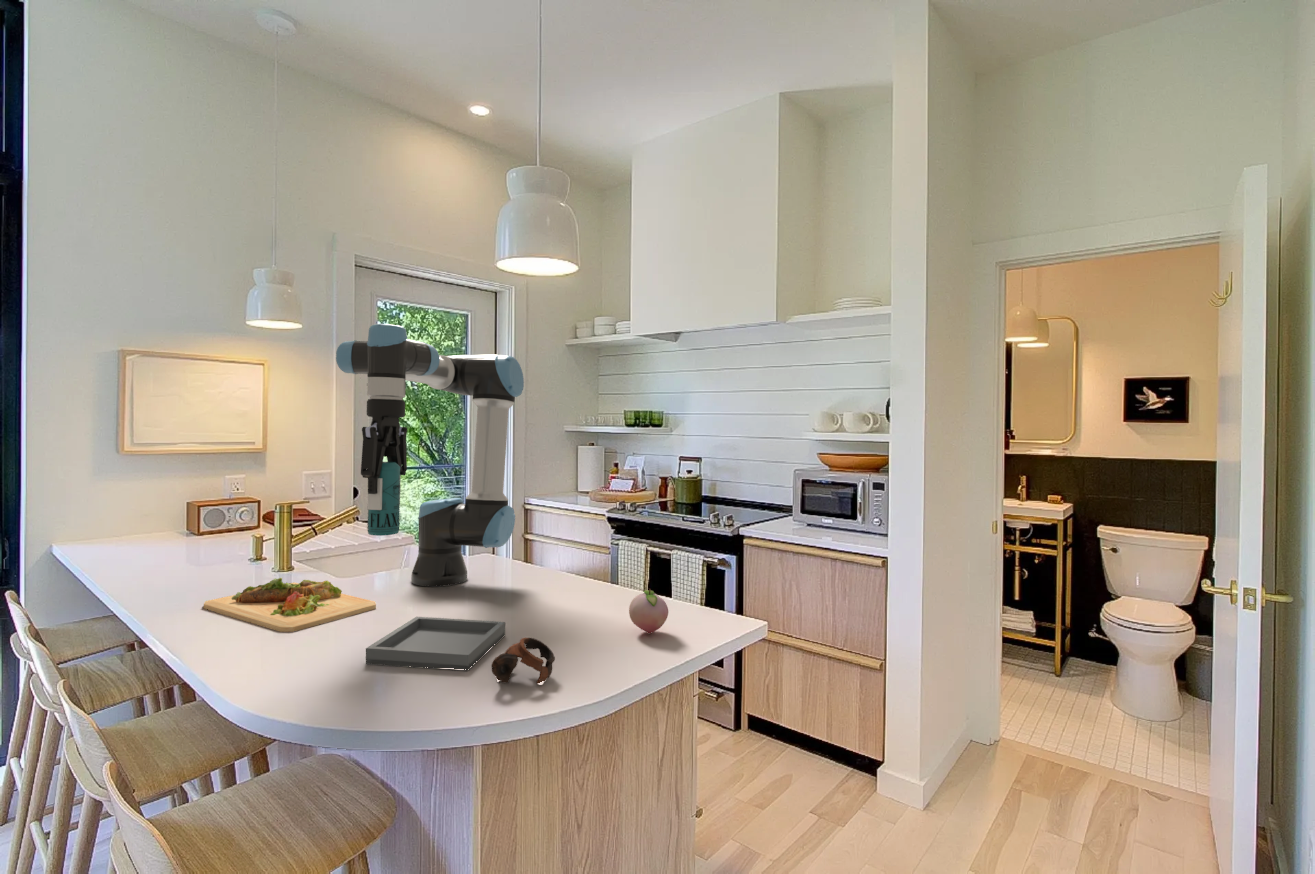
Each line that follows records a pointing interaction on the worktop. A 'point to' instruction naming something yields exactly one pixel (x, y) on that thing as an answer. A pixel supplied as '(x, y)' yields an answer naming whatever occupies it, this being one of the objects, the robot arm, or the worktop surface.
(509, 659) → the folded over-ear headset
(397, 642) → the tray
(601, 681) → the worktop surface
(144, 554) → the worktop surface
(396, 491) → the beverage bottle
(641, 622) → the decorative fruit
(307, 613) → the cutting board
